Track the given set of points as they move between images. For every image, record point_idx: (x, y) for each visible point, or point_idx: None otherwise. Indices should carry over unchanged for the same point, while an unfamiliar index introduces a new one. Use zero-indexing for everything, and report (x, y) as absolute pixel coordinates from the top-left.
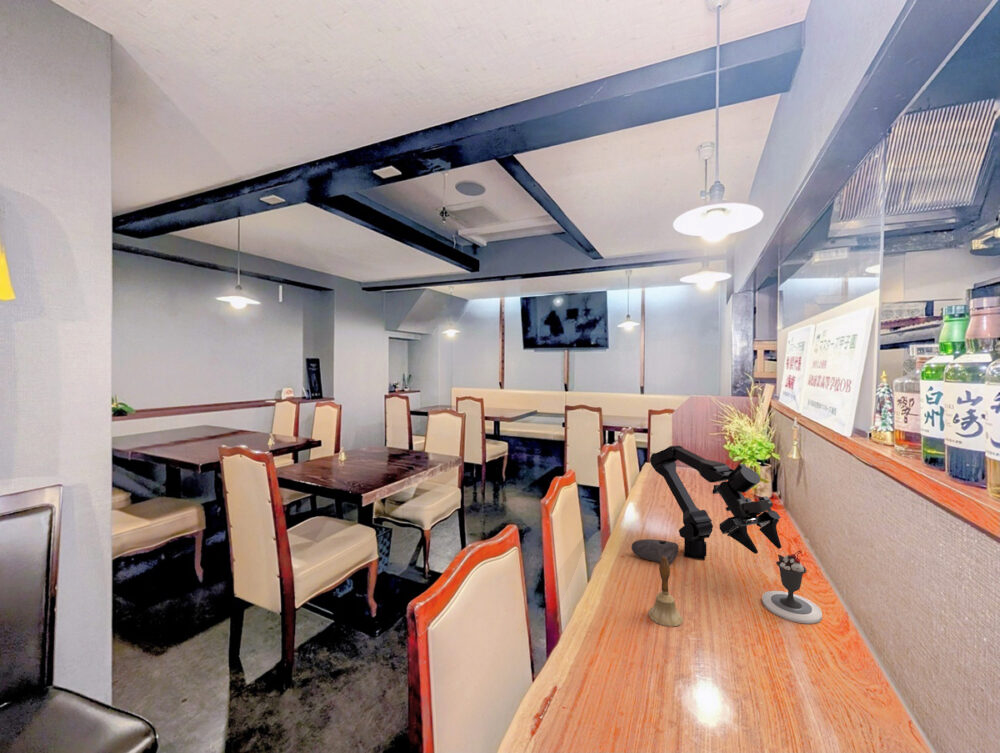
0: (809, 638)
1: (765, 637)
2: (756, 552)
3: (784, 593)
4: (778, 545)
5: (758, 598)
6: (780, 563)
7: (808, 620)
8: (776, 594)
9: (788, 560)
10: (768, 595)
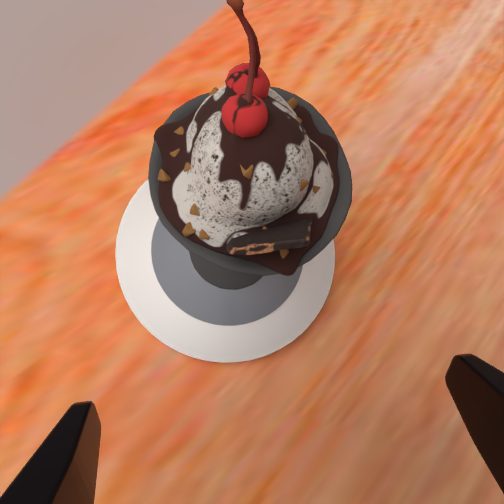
0: (325, 110)
1: (458, 154)
2: (468, 360)
3: (174, 327)
4: (89, 434)
5: (299, 352)
6: (311, 217)
7: None
8: (229, 323)
9: (306, 134)
10: (268, 331)
